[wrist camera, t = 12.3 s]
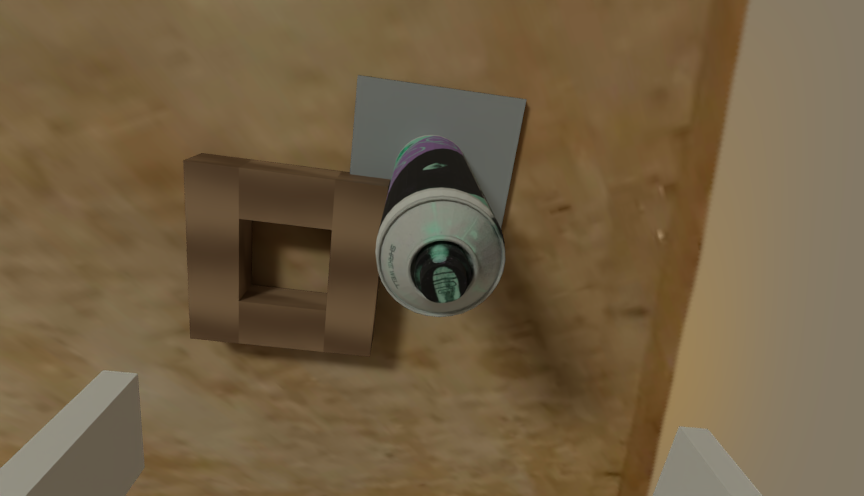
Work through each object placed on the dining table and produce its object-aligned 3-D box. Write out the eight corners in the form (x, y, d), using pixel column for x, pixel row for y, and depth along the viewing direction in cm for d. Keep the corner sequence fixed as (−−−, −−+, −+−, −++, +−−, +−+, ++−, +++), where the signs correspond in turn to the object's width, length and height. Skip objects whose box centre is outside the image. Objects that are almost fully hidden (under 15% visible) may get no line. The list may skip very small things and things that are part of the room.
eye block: (372, 337, 42) (369, 356, 39) (206, 319, 41) (190, 338, 38) (390, 177, 37) (388, 186, 34) (201, 153, 36) (183, 160, 33)
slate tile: (494, 252, 39) (495, 255, 39) (345, 234, 38) (344, 237, 38) (524, 99, 35) (526, 99, 35) (358, 75, 34) (357, 75, 34)
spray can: (433, 118, 35) (450, 179, 16) (482, 173, 36) (549, 288, 18) (379, 169, 36) (336, 281, 17) (428, 221, 38) (438, 375, 19)
